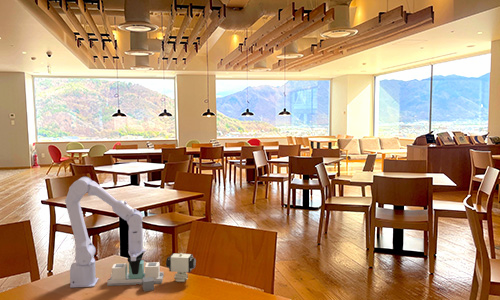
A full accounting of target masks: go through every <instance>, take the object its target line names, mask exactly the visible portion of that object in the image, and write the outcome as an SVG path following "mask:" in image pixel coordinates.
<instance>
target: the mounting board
mask: <svg viewBox="0 0 500 300" xmlns="http://www.w3.org/2000/svg"><path fill="white" fill-rule="evenodd" d="M160 269H161V268H160V262H159V261H153V262H146V263H145V265H144V277H143V278H148V277H153V279H154V285H155V284H157V285H160V284H161V285H162V284H163V279H164V274H165V273H164V271H161V270H160ZM136 284H139V285H143V284H142V279H129V269H128V263H113V265H112V267H111V274H110V278H109V280H107V284H106V286H107V287H111V286H113V287H114V286H136Z"/></svg>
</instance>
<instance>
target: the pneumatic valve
mask: <svg viewBox="0 0 500 300" xmlns="http://www.w3.org/2000/svg"><path fill="white" fill-rule="evenodd" d="M196 263H197V260H196V258H195V257H194V255H193V253H192V254H191V253H182V252H180V253H173V252H172V254H171V255H169V256H167V257H166V261H165V267H166V268H167V269H168V271H169V272H172V273H173V272H174V280H175V282H176V283H177V282H179V283H185V282H186V281H187V280H188V278H189V274H188V273H191V272H192V270H193V269H194V270H195V268H196V265H197V264H196Z"/></svg>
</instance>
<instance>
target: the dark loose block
mask: <svg viewBox="0 0 500 300" xmlns="http://www.w3.org/2000/svg"><path fill="white" fill-rule="evenodd" d="M141 285H142V290H144V291H143V292H150V291H154V290H155V284H154V279H153V277H148V278H142V284H141Z"/></svg>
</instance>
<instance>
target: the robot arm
mask: <svg viewBox="0 0 500 300" xmlns="http://www.w3.org/2000/svg"><path fill="white" fill-rule="evenodd" d="M85 195H87V197H88V196H91V197H93V196H94V197H97V198H98V199H100V200H101V201H103V202H104V203H106V204H108V205H109V206H111V207H112V212H113V213H114V214H116V215H117V216H119V217H120V218H121V219H122V220H124V221H126V223H127V225H128V255H129V256H130V257H128V258H127V262H128V265H129V264H130V266H131V270H132V274H138V271H139V265H140V261H141V260H143V255H144V254H145V253H146V252H147V250H146V248H145V249H144V241H143V240H144V235H143V233H144V232H143V231H144V230H143V219H144V216H143V213H142V212H141V211H140V210H137V208H133V207H132V206H131V205H129V204H128V201H126V200H123V199H122V200H121V199H120V200H118V199H116V198H115V197H114V196H113V195H111V194H110V193H109V191H107V190H105V188H103V186H101V185H100V184H98V182H96V181H95V180H92V179H91V178H90V177H88V176H82V177H80V178H78V179H77V180H75V181H74V182H73V183H72V184H71V185H70V186H69V188H68V192H67V195H66V197H65V201H64V202H65V206H66V209H67V215H68V218H69V221H70V224H71V229H72V232H73V236H74V239H75V249H74V250H75V256H74V257H75V258H74V259H75V262H72V263H71V264H70V268H69V269H70V270H69V282H70V286H69V288H88V287H89V288H90V287H91V288H92V287H95V286H96V284H97V282H98V281H99V279H100V278H99V277H96V259H95V257H94V256H95V254H96V252H97V251H96V250H97V249H96V247H95V246H94V244H93V242H92V240H91V238H90V237H89V234H88V230H87V226H86V222H85V219H84V213H83V210H82V207H81V206H82V205H81V203H80V202H81V200H82V198H83V197H85Z"/></svg>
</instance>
